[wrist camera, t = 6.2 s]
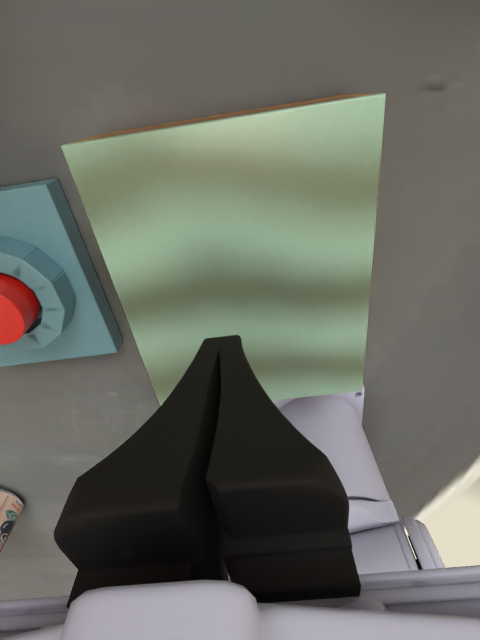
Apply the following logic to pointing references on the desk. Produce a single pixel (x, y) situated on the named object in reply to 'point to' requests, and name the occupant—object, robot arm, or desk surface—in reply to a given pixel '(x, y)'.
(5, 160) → the desk surface
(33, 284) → the block
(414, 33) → the desk surface
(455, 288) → the desk surface
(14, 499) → the beer can
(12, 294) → the button
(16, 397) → the desk surface
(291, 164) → the lid
